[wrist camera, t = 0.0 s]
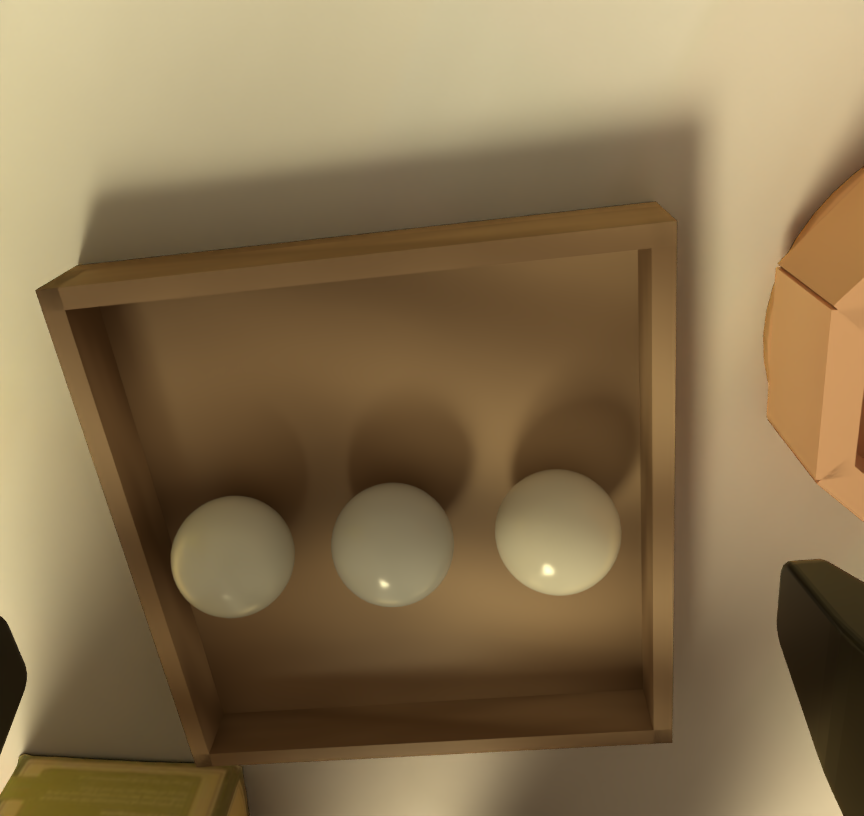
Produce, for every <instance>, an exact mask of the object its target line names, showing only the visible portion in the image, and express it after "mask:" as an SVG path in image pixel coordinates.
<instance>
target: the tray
mask: <svg viewBox="0 0 864 816" xmlns="http://www.w3.org/2000/svg"><path fill="white" fill-rule="evenodd" d="M676 269H677V220H675V219H674V218H673V217H672V216H671V215H670V214H669V213H668V212H667V211H666V210H665V209H663V208H662V207H661V206H660V205H659V204H658V203H657V202H648V203H639V204H629V205H620V206H611V207H602V208H593V209H584V210H575V211H566V212H557V213H548V214H539V215H530V216H521V217H512V218H503V219H494V220H485V221H476V222H467V223H457V224H448V225H439V226H430V227H421V228H412V229H403V230H394V231H385V232H376V233H367V234H358V235H349V236H340V237H331V238H322V239H313V240H304V241H295V242H285V243H276V244H267V245H258V246H249V247H240V248H231V249H222V250H213V251H204V252H195V253H186V254H177V255H168V256H159V257H150V258H141V259H132V260H123V261H113V262H104V263H95V264H86V265H77V266H75V267H73V268H72V269H70V270H68V271H67V272H65V273H63V274H62V275H60V276H58V277H57V278H55V279H53V280H52V281H50V282H48V283H47V284H45V285H43V286H42V287H40V288H38V289H37V290H35V291H36V294H37V297H38V300H39V303H40V306H41V308H42V311H43V314H44V317H45V320H46V323H47V326H48V329H49V332H50V335H51V338H52V341H53V344H54V347H55V350H56V353H57V356H58V359H59V362H60V365H61V368H62V371H63V374H64V377H65V380H66V383H67V385H68V388H69V391H70V394H71V397H72V400H73V403H74V406H75V409H76V412H77V415H78V418H79V421H80V424H81V427H82V430H83V433H84V436H85V439H86V442H87V445H88V448H89V451H90V454H91V457H92V459H93V462H94V465H95V468H96V471H97V474H98V477H99V480H100V483H101V486H102V489H103V492H104V495H105V498H106V501H107V504H108V507H109V510H110V513H111V516H112V519H113V522H114V525H115V528H116V531H117V533H118V536H119V539H120V542H121V545H122V548H123V551H124V554H125V557H126V560H127V563H128V566H129V569H130V572H131V575H132V578H133V581H134V584H135V587H136V590H137V593H138V596H139V599H140V602H141V605H142V607H143V610H144V613H145V616H146V619H147V622H148V625H149V628H150V631H151V634H152V637H153V640H154V643H155V646H156V649H157V652H158V655H159V658H160V661H161V664H162V667H163V670H164V673H165V676H166V679H167V681H168V684H169V687H170V690H171V693H172V696H173V699H174V702H175V705H176V708H177V711H178V714H179V717H180V720H181V723H182V726H183V729H184V732H185V735H186V738H187V741H188V744H189V747H190V750H191V753H192V756H193V758H194V761H195V764H196V767H213V766H233V765H252V764H271V763H290V762H309V761H329V760H348V759H367V758H386V757H405V756H425V755H444V754H463V753H482V752H501V751H521V750H540V749H559V748H578V747H597V746H617V745H636V744H655V743H672V713H673V602H674V491H675V380H676ZM549 469H564V470H570V471H574V472H577V473H580V474H583V475H585V476H587V477H589V478H590V479H592V480H593V481H595V482H596V483H597V484H598V485H600V486H601V487H602V488H603V489H604V490H605V491H606V493H607V494H608V495H609V496H610V498H611V499H612V501H613V503H614V505H615V507H616V509H617V512H618V514H619V518H620V522H621V530H622V534H621V545H620V550H619V553H618V556H617V559H616V561H615V563H614V565H613V566H612V568H611V569H610V571H609V572H608V573H607V575H606V576H605V577H604V578H603V579H602V580H600V581H599V582H598V583H597V584H595V585H594V586H592V587H591V588H589V589H587V590H585V591H583V592H580V593H577V594H572V595H566V596H554V595H547V594H543V593H540V592H537V591H534V590H532V589H530V588H528V587H527V586H525V585H523V584H522V583H521V582H520V581H518V580H517V579H516V578H515V577H514V576H513V575H512V574H511V573H510V572H509V570H508V569H507V568H506V566H505V565H504V563H503V561H502V559H501V557H500V555H499V552H498V549H497V545H496V539H495V522H496V517H497V513H498V510H499V507H500V505H501V503H502V501H503V499H504V498H505V496H506V495H507V493H508V492H509V491H510V490H511V488H512V487H513V486H515V485H516V484H517V483H518V482H519V481H521V480H522V479H524V478H525V477H527V476H529V475H531V474H533V473H536V472H539V471H543V470H549ZM394 482H395V483H404V484H409V485H412V486H415V487H417V488H419V489H421V490H423V491H425V492H426V493H428V494H429V495H430V496H432V497H433V498H434V499H435V500H436V501H437V502H438V503H439V504H440V505H441V507H442V508H443V510H444V511H445V513H446V515H447V516H448V518H449V521H450V524H451V527H452V530H453V536H454V552H453V559H452V562H451V565H450V568H449V570H448V573H447V575H446V576H445V578H444V579H443V581H442V582H441V584H440V585H439V586H438V587H437V588H436V589H435V590H434V591H433V592H432V593H431V594H429V595H428V596H427V597H425V598H424V599H422V600H420V601H418V602H416V603H413V604H410V605H407V606H402V607H382V606H377V605H374V604H371V603H368V602H366V601H364V600H362V599H361V598H359V597H358V596H356V595H355V594H354V593H352V592H351V591H350V590H349V589H348V588H347V587H346V586H345V584H344V583H343V582H342V580H341V578H340V577H339V575H338V573H337V571H336V569H335V566H334V563H333V559H332V553H331V538H332V532H333V528H334V525H335V522H336V520H337V517H338V516H339V514H340V512H341V511H342V509H343V508H344V506H345V505H346V504H347V503H348V502H349V501H350V500H351V499H352V498H353V497H354V496H355V495H357V494H358V493H360V492H361V491H363V490H365V489H367V488H369V487H372V486H374V485H378V484H382V483H394ZM225 496H246V497H251V498H254V499H257V500H260V501H262V502H264V503H266V504H267V505H269V506H270V507H272V508H273V509H274V510H275V511H277V512H278V513H279V514H280V516H281V517H282V518H283V519H284V521H285V522H286V524H287V525H288V527H289V529H290V532H291V534H292V537H293V541H294V547H295V562H294V567H293V572H292V575H291V577H290V580H289V582H288V584H287V586H286V587H285V589H284V590H283V592H282V593H281V594H280V596H279V597H278V598H277V599H276V600H275V601H273V602H272V603H271V604H270V605H269V606H267V607H266V608H264V609H263V610H261V611H259V612H257V613H255V614H252V615H249V616H245V617H241V618H220V617H215V616H211V615H208V614H206V613H204V612H202V611H200V610H198V609H197V608H195V607H194V606H193V605H191V604H190V603H189V602H188V601H187V600H186V599H185V598H184V597H183V595H182V594H181V593H180V591H179V589H178V587H177V585H176V584H175V581H174V578H173V574H172V570H171V549H172V545H173V541H174V538H175V536H176V534H177V531H178V529H179V528H180V526H181V525H182V523H183V522H184V520H185V519H186V518H187V517H188V516H189V515H190V514H191V513H192V512H193V511H194V510H196V509H197V508H198V507H200V506H201V505H203V504H205V503H207V502H208V501H211V500H213V499H217V498H220V497H225Z"/></svg>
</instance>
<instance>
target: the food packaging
mask: <svg viewBox="0 0 864 816" xmlns="http://www.w3.org/2000/svg"><path fill="white" fill-rule="evenodd" d="M0 816H249V810H248V803H247V794H246V788H245V785H244V778H243V770H242V766H238V765H233V766H213V767H196V764H195V763H162V762H138V761H119V760H100V759H82V758H67V757H44V756H31V755H27V754H23V755H21V756H19V759H18V765H17V767H16V769H15V771H14V772H13V774H12V776H11V778H10V779H9V781H8V783H7V784H6V786H5V788H4V789H3V791H2V793H1V794H0Z"/></svg>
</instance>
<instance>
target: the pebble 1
mask: <svg viewBox="0 0 864 816" xmlns="http://www.w3.org/2000/svg"><path fill="white" fill-rule="evenodd" d="M294 562H295V547H294V541H293V537H292V534H291V532H290V529H289V527H288V525H287V524H286V522H285V521H284V519H283V518H282V517H281V516H280V514H279V513H278V512H277V511H275V510H274V509H273V508H272V507H270V506H269V505H267V504H266V503H264V502H262V501H260V500H257V499H254V498H251V497H246V496H225V497H220V498H217V499H213V500H211V501H208V502H207V503H205V504H203V505H201V506H200V507H198V508H197V509H196V510H194V511H193V512H192V513H191V514H190V515H189V516H188V517H187V518H186V519H185V520H184V522H183V523H182V525H181V526H180V528H179V529H178V531H177V534H176V536H175V538H174V541H173V545H172V549H171V570H172V574H173V578H174V581H175V584H176V585H177V587H178V589H179V591H180V593H181V594H182V595H183V597H184V598H185V599H186V600H187V601H188V602H189V603H190V604H191V605H193V606H194V607H195V608H197V609H198V610H200V611H202V612H204V613H206V614H208V615H211V616H215V617H220V618H241V617H245V616H249V615H252V614H255V613H257V612H259V611H261V610H263V609H264V608H266V607H267V606H269V605H270V604H271V603H272V602H273V601H275V600H276V599H277V598H278V597H279V596H280V594H281V593H282V592H283V590H284V589H285V587H286V586H287V584H288V582H289V580H290V577H291V575H292V572H293V567H294Z"/></svg>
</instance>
